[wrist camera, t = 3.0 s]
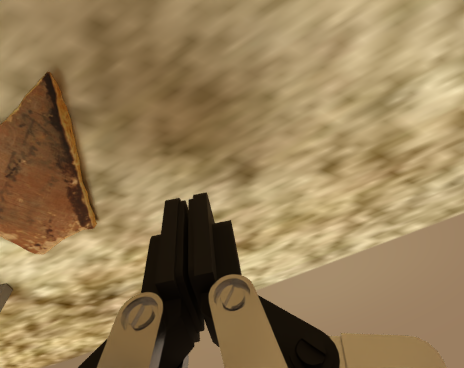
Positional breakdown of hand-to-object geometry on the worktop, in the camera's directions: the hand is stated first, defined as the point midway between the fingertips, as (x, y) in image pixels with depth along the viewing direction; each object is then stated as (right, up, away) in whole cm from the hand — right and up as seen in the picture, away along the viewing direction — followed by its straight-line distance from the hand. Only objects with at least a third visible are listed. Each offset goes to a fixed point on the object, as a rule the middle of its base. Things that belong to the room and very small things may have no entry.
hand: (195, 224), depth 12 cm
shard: (-12, +3, +6) cm, 13 cm away
